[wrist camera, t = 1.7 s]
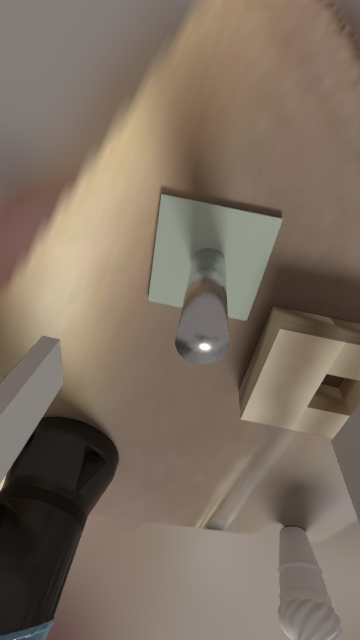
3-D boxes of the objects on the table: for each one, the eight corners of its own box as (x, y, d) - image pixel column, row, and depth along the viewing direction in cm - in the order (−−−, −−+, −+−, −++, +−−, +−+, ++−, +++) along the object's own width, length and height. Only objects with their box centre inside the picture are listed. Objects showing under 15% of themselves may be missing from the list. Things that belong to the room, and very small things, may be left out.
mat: (148, 298, 30) (148, 300, 29) (162, 193, 24) (161, 194, 24) (246, 318, 30) (246, 321, 29) (281, 217, 24) (282, 219, 24)
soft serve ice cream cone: (292, 514, 48) (321, 662, 35) (329, 533, 50) (369, 680, 37) (257, 530, 52) (271, 668, 39) (292, 547, 54) (316, 684, 41)
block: (238, 391, 35) (240, 419, 32) (272, 305, 28) (280, 328, 25) (371, 419, 35) (387, 449, 32) (435, 339, 28) (464, 366, 25)
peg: (189, 275, 27) (171, 358, 17) (195, 244, 26) (180, 316, 16) (220, 282, 27) (221, 369, 17) (229, 251, 26) (235, 327, 16)
